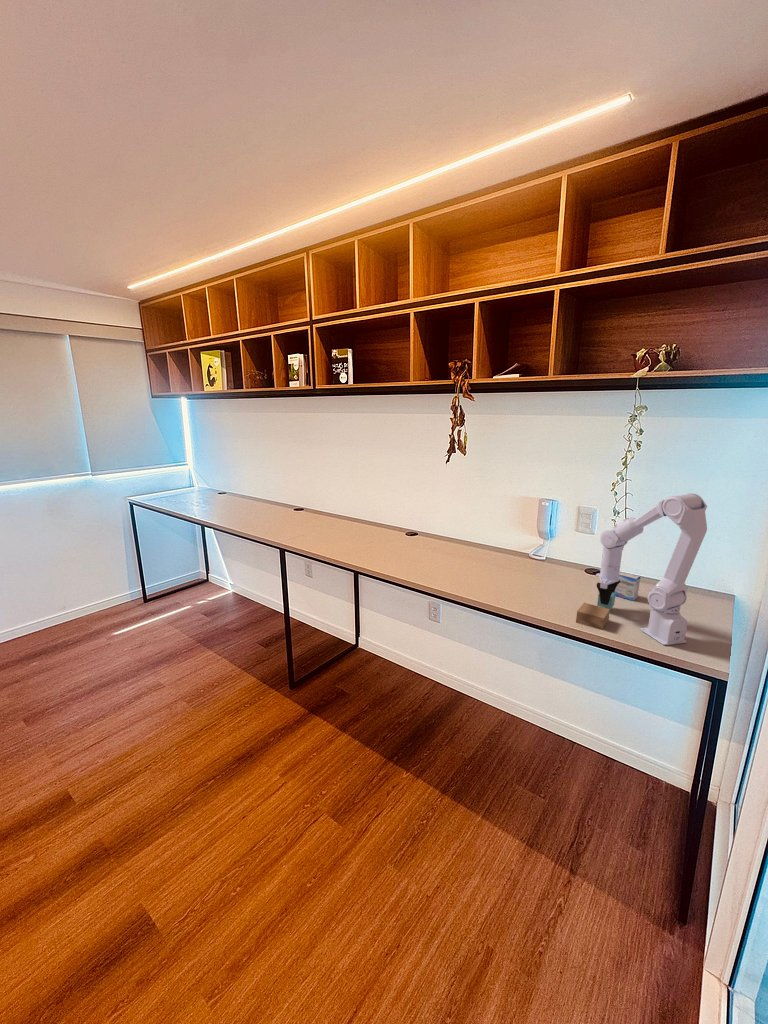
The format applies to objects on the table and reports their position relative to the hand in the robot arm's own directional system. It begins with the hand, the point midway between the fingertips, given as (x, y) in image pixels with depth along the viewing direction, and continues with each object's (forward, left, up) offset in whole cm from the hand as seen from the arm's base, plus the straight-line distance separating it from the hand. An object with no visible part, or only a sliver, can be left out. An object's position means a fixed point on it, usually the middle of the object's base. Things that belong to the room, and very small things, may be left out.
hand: (606, 601), depth 151 cm
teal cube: (0, 0, -2) cm, 2 cm away
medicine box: (+8, -14, -3) cm, 16 cm away
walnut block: (-7, +10, -3) cm, 12 cm away
